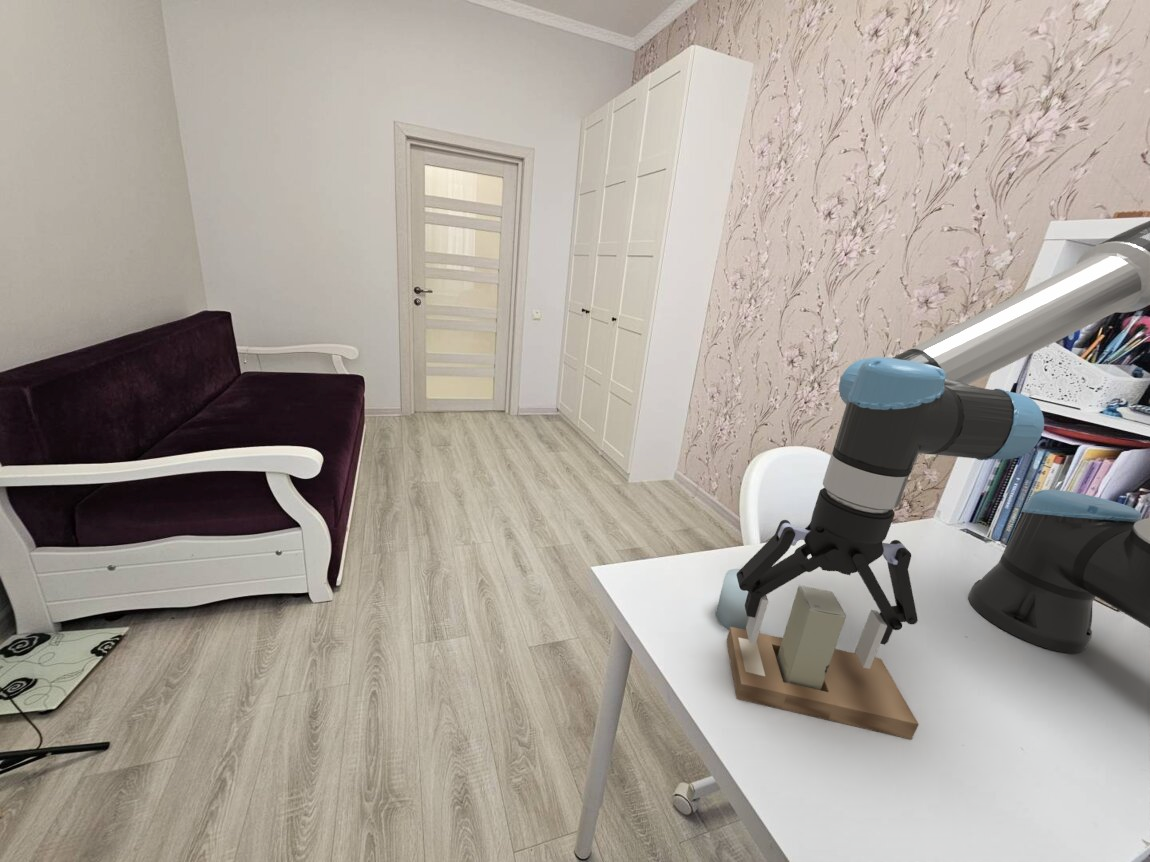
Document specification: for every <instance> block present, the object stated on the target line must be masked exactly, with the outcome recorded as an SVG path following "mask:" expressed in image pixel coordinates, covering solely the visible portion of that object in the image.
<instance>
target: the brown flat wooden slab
mask: <svg viewBox="0 0 1150 862" xmlns="http://www.w3.org/2000/svg"><path fill="white" fill-rule="evenodd" d="M782 639H783V637H782V636H781V637H780V636H775V635H771V634H766V633H762V632H759V635H758V638H757V641H756V644H752V643H749V639H748V635H747V630H744V629H739V628H734V627H730V629H729V630H728V633H727V637H726V645H727V646H726V647H727V650H728V651H727V652H728V655H729V663H730V667H731V674H732V679H733V683H734V684H733V685H734V691H735V696H736V699H737V700H741V701H745V702H750V703H754V704H758V705H763V706H767V707H771V708H776V709H779V710H784V711H788V712H792V713H797V714H801V715H805V716H810V717H813V718H818V719H822V720H827V721H831V722H835V723H841V724H844V725H848V726H852V727H857V728H861V729H867V730H870V731H875V732H877V733H878V732H879V733H883V734H887V735H892V736H896V737H901V738H904V739H908V740H913V737H914V735H915V733H916V731H917V728H918V727H919V726H920V725H919V723H918V720H917V719H916V717H915V715H914V714H913V711H912V710H911V708H910V707H909V704H908V703H907V701H906V700H905V698H904V696H903V694H902V693H901V691H900V689H899V687H898V685H897V684H896V682H895V680H894V679H893V677H892V675H891V673H890V672H889V670H888V668H887V666H886V665H885V663H884V661H883V659H882V658H878V657H875V658H874V660H873V662H872V665H871V667H870V669H867V668H863V666H862V664H861V662H860V660H859V658H858V656H857V654H856V652H851V651H846V650H842V649H836V648H835V650H834V653H833V656H832V659H831V661H830V664H829V667H828V670H827V673H826V676H825V679H824V682H823V685H822V688H821V690H816V689H812V688H807V687H803V686H798V685H794V684H790V683H785V682H783V680H782V677H781V673H780V670H779V666H778V663H777V660H776V659H777V656H778V653H779V649H780V646H781V643H782Z"/></svg>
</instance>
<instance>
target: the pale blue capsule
mask: <svg viewBox="0 0 1150 862" xmlns="http://www.w3.org/2000/svg"><path fill="white" fill-rule="evenodd" d="M740 569H741V568H731V569H728V570H726V572H725V575H724V577H723V582H722V587H721V591H720V594H719V598H718V602H717V605H716V610H715V618H716V620H717V622H718V623H719V624H720V625H721V626H722V627H724V629H726V630H728V631H729V629H730V627H734V628H739V629H744V630H746V626H747V623H748V619H749V616H747V614H746V610H745V602H746V598H747V595H748V591H747V590H746V591H743V590H741V589H740V587H739V583H738V579H737V572H738V571H739V570H740Z"/></svg>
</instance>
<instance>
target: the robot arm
mask: <svg viewBox="0 0 1150 862" xmlns="http://www.w3.org/2000/svg"><path fill="white" fill-rule="evenodd" d="M1149 306H1150V220H1148V221H1146V222H1143V223H1141V224H1138V225H1136V226H1134V227H1131V228H1130V229H1127V230H1125V231H1123V232H1120V233H1119V234H1115V235H1114V236H1113V237H1110V238H1109V239H1107V240H1105V241H1102V242H1100V243H1099V244H1097V245H1094V246H1093V247H1091V248H1089V249H1088V250H1087V251H1085V252H1084V253H1083V254H1081V256H1080V257H1079V259H1077V262H1076V264H1075V265H1072V266H1071V267H1069V268H1067V269H1064V270H1063V271H1061V272H1059V273H1057V274H1055V275H1053V276H1051V277H1049V278H1047V279H1045V280H1043V281H1042V282H1039V283H1037V284H1036V285H1034V286H1032V287H1030V288H1027V289H1025V290H1024V291H1022V292H1019V293H1018V294H1016V295H1013V296H1012V297H1009V298H1008V299H1006V300H1004V301H1002V302H1000V303H998V304H996V305H993V306H992V307H990V308H988V309H985V310H984V311H982V312H980V313H978V314H976V315H974V316H972V317H971V318H969V319H966V320H964V321H961V323H958V324H957V325H955V326H953V327H951V328H949V329H947V330H944V331H942V332H941V333H939V334H937V335H935V336H932V337H931V338H929V339H927V340H925V341H923V342H921V343H919V344H917V345H915V346H914V347H911V348H909V349H908V350H906V351H903V352H901V353H900V354H897V355H895V356H892V357H885V356H873V357H868V358H862V359H858V360H856V361H855V362H853V363H851V364H850V365H849V366H847V368H846V369H845V370H844V372H843V373H842V374H841V377H840V379H839V382H838V383H839V384H838V392H839V397H840V398H841V400H842V402H843V403H844V404H845V408H844V412H843V416H842V419H841V422H840V425H839V430H838V433H837V435H836V439H835V443H834V445H833V446H834V447H833V450H832V452H831V455H830V457H829V460H828V464H827V467H826V471H825V474H824V477H823V479H822V480H823V481H822V486H823V488H821V489H820V490H819V492H818V495H817V499H816V501H815V505H814V508H813V511H812V515H811V519H810V522H809V524H808V525H807V526H806V527H805V528H802V527H799V526H795V525H792V524H791V522H790V521H789V520H788V519H782V520H781V521H780V522H779V524H778V527H777V528H776V531H775V533H774V534H773V536H772V537H771V538H769V540H768V541H767V542H766V543H765V544H764V545H763V546H762V547H761V548H760V549H759V550H758V551H757V552H756V553H755V554H754V555H753V556H751V558H750V559H749V560H748V561H747V562H746V563H745V564H744V565H743V566H742V567H741V568H739V569H740V570H739V571H738V572H737V579H738V583H739V587H740V589H741V590H743V591H746V590H747V591H748V595H747V598H746V602H745V610H746V614H747V616H749V619H748V623H747V626H746V630H747V635H748V639H749V643H752V644H756V641H757V638H758V635H759V633H760V630H761V627H762V624H763V620H764V618H765V614H766V611H767V607H768V604H769V599H768V596H767V595H768V594H770V593H771V592H773V591H775V590H777V589H779V588H780V587H782V586H784V585H785V584H787V583H789V582H790V581H792V580H794V579H796V578H797V577H799V576H801V575H802V574H804V573H806V572H807V573H811V572H813V571H814V570H817V569H819V568H820V569H821V570H822V571H827V572H838V573H840V574H843V575H845V576H846V575H847V576H851V574H856V573H858V574H859V576H860V578H861V579H862V581H863V583H864V585H865V587H866V589H867V590H868V593H870V595H871V597H872V599H873V601H874V603H875V604H876V606H877V608H878V610H875V609H870V612H869V614H868V617H867V619H866V621H865V625H864V627H863V629H862V632H861V635H860V637H859V640H858V642H857V645H856V647H855V650H854V653H856V654H857V656H858V658H859V660H860V662H861V664H862V666H863V668H867V669H870V667H871V665H872V662H873V660H874V658H876V654H877V653H878V649H879V647H880V645H883V646H886V644H887V643H889V641H890V637H891V635H892V634H893V631H900V630H901V629H902V628H903V623H907V624H908V625H915V624H917V623H918V621H919V618H918V614H917V609H916V603H915V599H914V598H915V597H914V593H913V589H912V583H911V578H910V573H909V566H910V563H911V560H912V559H911V558H912V552H910V551H909V550H908V549H907V547H906V546H905V545H904V544H903V543H902V542H901V541H900V540H898V539H894V540H892V541H890V542H884V541H885V540H886V538H887V535H888V533H889V531H890V528H891V525H892V522H893V520H894V517H895V515H896V514H895V511H894V509H897V508H898V507H899V505H900V502H901V499H902V497H903V494H904V492H905V491H904V490H905V488H906V486H907V482H908V480H909V478H910V474H911V473H912V470H913V468H914V465H915V463H916V461H917V457H918V455H919V454H923V455H924V454H925V455H935V456H936V455H937V456H945V457H955V458H956V457H957V458H967V459H976V460H978V461H989V460H1011V459H1012V460H1013V459H1017V458H1019V457H1022V456H1024V455H1027V453H1029V452H1030V451H1032V450H1033V449H1034V448H1035V447H1036V446H1037V444H1038V443H1039V441H1040V439H1041V437H1042V434H1043V433H1044V429H1045V418H1044V414H1043V412H1042V410H1041V408H1040V406H1039V405H1038V403H1037V402H1036V401H1035V400H1033V399H1032V398H1031V397H1029V396H1027V395H1025V394H1022V393H1018V392H1012V391H1009V390H1005V389H1002V388H994V389H992V388H991V389H988V388H983V387H978V386H974V385H971V384H972V383H974V382H977V381H978V380H980V379H982V378H985V377H986V376H988V375H991V374H993V373H995V372H997V371H998V370H1001V369H1003V368H1005V367H1007V366H1009V365H1011V364H1013V363H1015V362H1017V361H1019V360H1021V359H1023V358H1025V357H1027V356H1030V355H1031V354H1033V353H1036V352H1037V351H1040V350H1042V349H1043V348H1045V347H1047V346H1049V345H1051V344H1054V343H1055V342H1058V341H1060V340H1062V339H1064V338H1066V337H1068V336H1070V335H1072V334H1074V333H1077V332H1078V331H1080V330H1082V329H1085V328H1086V327H1088V326H1091V325H1092V324H1095V323H1097V322H1098V321H1101V320H1103V319H1104V318H1106V317H1108V316H1111V315H1113V314H1115V313H1133V312H1135V311H1139V310H1142V309H1144V308H1147V307H1149ZM799 541H803V542H804V544H802V545H801V546H799V547H796V548H795V550H794V553H792V554H791V555H789V556H787V557H785V558H783V556H784V555H785V554H786V553H787V552H788V551H789V549H790V548H791V546H793V547H795V546H796V545H797V543H798V542H799ZM809 556H811V557H810V558H808V557H809ZM882 556H883V558H884V559H885V560H886V562H887V567H888V572H889V577H890V583H891V587H892V591H893V597H894V601H895V605H892V604H891V603H890V601H889V600H888V597H886V594H885V591H883V588H882V587H881V585H880V583H879V582H878V580H877V578H876V576H875V574H874V572H873V571H872V569H871V566H870V565H871V564H872V563H873V562H875V561H877V560H878V559H879V558H881V557H882ZM782 558H783V559H782ZM780 559H782V560H781V561H779V560H780ZM778 561H779V562H778ZM1095 598H1098V599H1099V600H1101V601H1103V602H1104V603H1106V604H1108V605H1110V606H1112V607H1113V608H1115V609H1116V610H1118V611H1119V612H1122V613H1123V614H1125V615H1127V616H1129V617H1130V618H1132V619H1134V620H1135V621H1137V622H1139V623H1140V624H1142V625H1143V626H1146V627H1148V628H1149V629H1150V517H1148V518H1144V519H1142V513H1141V512H1140V511H1139V510H1137V509H1136V508H1134V507H1132V506H1129V505H1127V504H1122V503H1120V502H1117V501H1113V500H1110V499H1107V498H1106V499H1105V498H1101V497H1098V496H1093V495H1089V494H1085V493H1080V492H1075V491H1074V492H1073V491H1068V490H1062V489H1061V490H1059V489H1040V490H1037V491H1035V492H1034V493H1033V494H1032V495H1031V497H1030V498H1029V500H1028V501H1027V503H1026V504H1025V506H1024V508H1022V509H1021V513H1020V516H1019V518H1018V520H1017V522H1016V525H1015V527H1014V529H1013V531H1012V533H1011V535H1010V538H1009V540H1008V542H1007V544H1006V546H1005V549H1004V550H1003V553H1002V555H1001V557H1000V559H999V561H998V562H997V564H996V565H994V566H993V567H992V568H991V569H990V570H989V571H988V572H986V574H985V575H984V576H982V578H981V579H979V580H976V581H975V582H974V583H973V585H972V587H971V589H970V591H969V594H968V600H969V601H968V602H969V603H970V605H971V606H972V607H973V608H974V609H975V611H977V612H978V613H979V614H980V615H981V616H982V617H984V618H985V619H986V620H987V621H989V622H990V623H992V624H993V625H995V626H996V627H997V628H1000V629H1001V630H1003V631H1005V632H1007V633H1008V634H1011V635H1013V636H1014V637H1016V638H1019V639H1020V640H1023V641H1026V642H1027V643H1031V644H1033V645H1036V646H1038V647H1042V648H1044V649H1048V650H1051V651H1056V652H1060V653H1065V654H1066V653H1069V654H1076V653H1077V654H1078V653H1081V652H1084V651H1085V650H1086V649H1087V646H1088V645H1089V643H1090V641H1091V639H1092V634H1093V631H1092V629H1091V628H1092V623H1093V606H1094V605H1093V602H1094V601H1095Z"/></svg>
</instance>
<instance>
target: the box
mask: <svg viewBox="0 0 1150 862" xmlns="http://www.w3.org/2000/svg"><path fill="white" fill-rule="evenodd" d="M795 593H796V594H795V597H794V600H793V603H792V607H791V609H790V613H789V616H788V619H787V623H786V626H785V629H784V634H783V636H782V638H783V639H782V643H781V646H780V649H779V653H778V656H777V659H776V660H777V663H778V666H779V670H780V673H781V677H782V680H783V682H785V683H790V684H794V685H798V686H803V687H807V688H812V689H816V690H821V688H822V685H823V682H824V679H825V676H826V673H827V670H828V667H829V664H830V661H831V659H832V656H833V653H834V650H835V649H836V647H837V644H838V641H839V638H840V635H841V633H842V629H843V627H844V625H845V620H846V618H847V615H846V613H845V612H844V609H843V606H841V603H840V602H839V600H838V599H837V596H836V595H835V593H834V592H833V591H831V590H829V591H828V590H824V589H819V588H814V587H809V586H805V585H801V584H799V585H798V586H797V591H796V592H795Z"/></svg>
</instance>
